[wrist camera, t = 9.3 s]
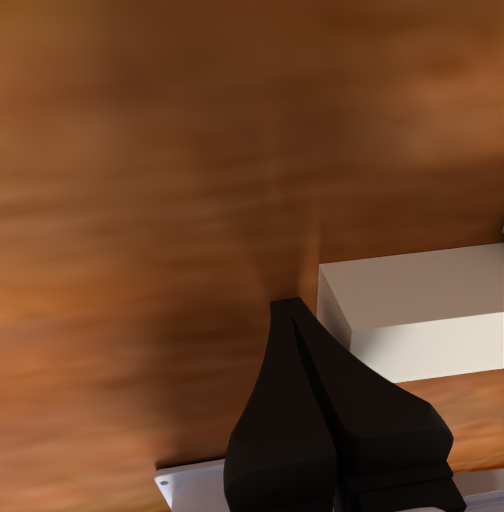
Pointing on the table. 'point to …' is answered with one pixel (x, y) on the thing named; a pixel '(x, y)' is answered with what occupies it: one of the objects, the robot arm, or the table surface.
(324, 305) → the slat
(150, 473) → the table surface
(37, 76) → the table surface
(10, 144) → the table surface
